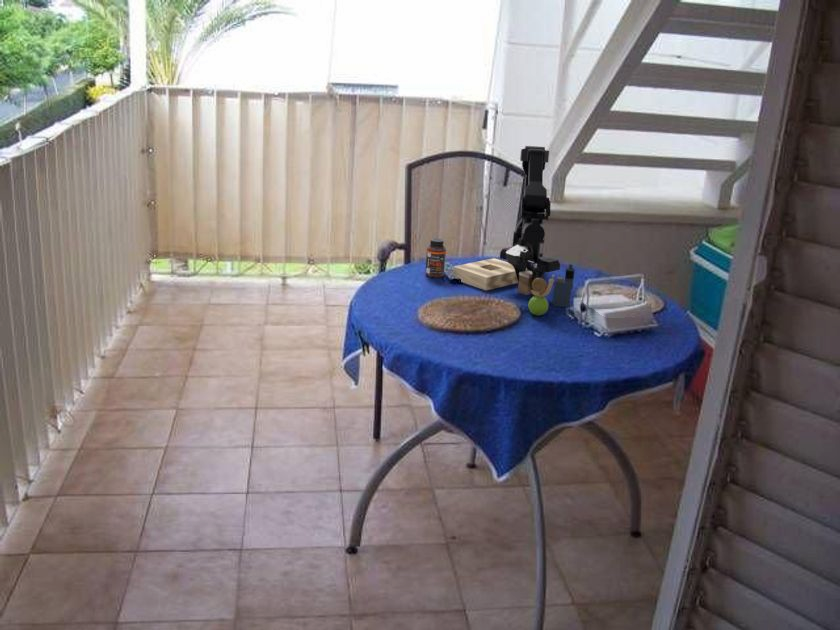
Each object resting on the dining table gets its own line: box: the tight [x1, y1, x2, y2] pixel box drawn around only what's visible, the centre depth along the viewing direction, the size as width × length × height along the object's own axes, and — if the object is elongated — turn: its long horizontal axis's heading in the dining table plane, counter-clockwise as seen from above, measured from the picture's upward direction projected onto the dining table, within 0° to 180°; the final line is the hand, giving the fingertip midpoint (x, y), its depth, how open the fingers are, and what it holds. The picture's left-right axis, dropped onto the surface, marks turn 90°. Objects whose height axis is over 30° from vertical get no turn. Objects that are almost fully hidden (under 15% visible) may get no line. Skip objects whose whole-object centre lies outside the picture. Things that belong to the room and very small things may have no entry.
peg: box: [517, 269, 534, 296], centre depth 243 cm, size 4×4×6 cm
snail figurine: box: [527, 274, 556, 316], centre depth 223 cm, size 5×6×12 cm
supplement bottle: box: [424, 238, 447, 278], centre depth 255 cm, size 6×6×11 cm
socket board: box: [452, 257, 527, 291], centre depth 254 cm, size 18×14×4 cm
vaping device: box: [552, 264, 576, 308], centre depth 232 cm, size 3×5×12 cm, turn 89°
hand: (526, 287), depth 244 cm, fingers open, 5 cm apart
